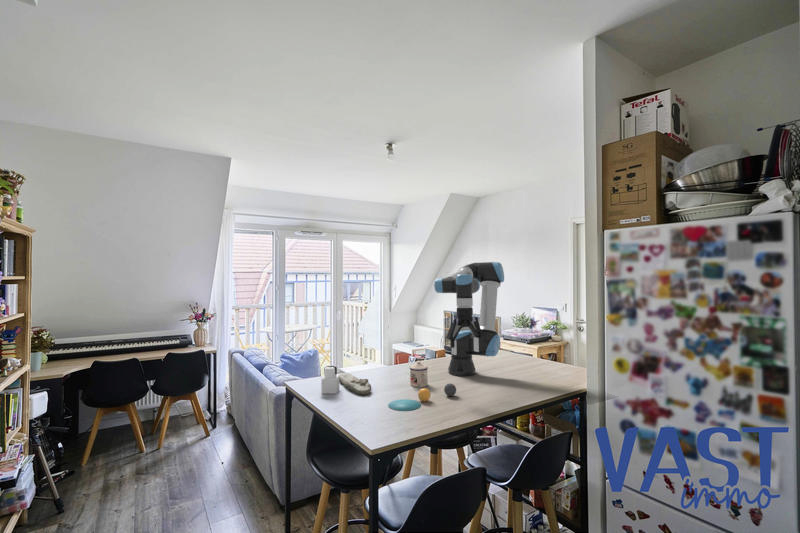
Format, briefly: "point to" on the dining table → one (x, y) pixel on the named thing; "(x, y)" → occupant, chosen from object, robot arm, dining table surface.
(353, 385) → the long grey stone
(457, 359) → the robot arm
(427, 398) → the object ball
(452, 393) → the dark grey ball
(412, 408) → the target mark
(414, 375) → the teacup with lid
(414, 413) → the dining table surface
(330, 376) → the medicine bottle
